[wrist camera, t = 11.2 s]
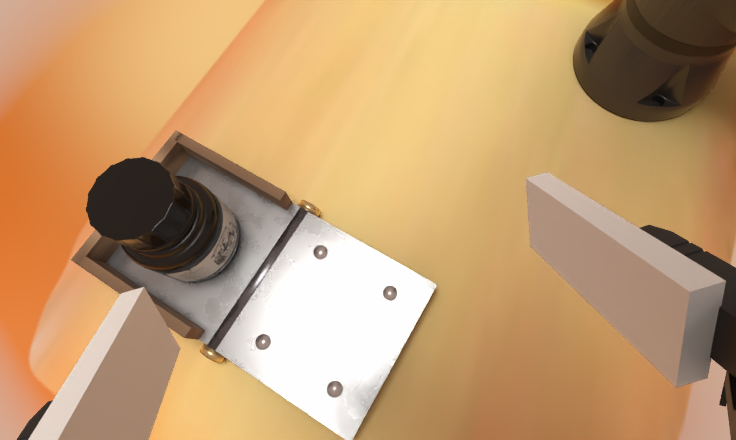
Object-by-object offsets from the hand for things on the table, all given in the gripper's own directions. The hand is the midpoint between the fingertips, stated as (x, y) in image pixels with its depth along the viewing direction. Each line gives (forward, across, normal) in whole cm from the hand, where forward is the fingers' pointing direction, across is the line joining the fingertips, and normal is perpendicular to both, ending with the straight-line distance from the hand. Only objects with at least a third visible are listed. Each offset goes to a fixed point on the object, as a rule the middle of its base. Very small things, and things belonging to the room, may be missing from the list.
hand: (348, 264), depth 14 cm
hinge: (+26, -10, -15) cm, 32 cm away
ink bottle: (+28, -15, -10) cm, 34 cm away
